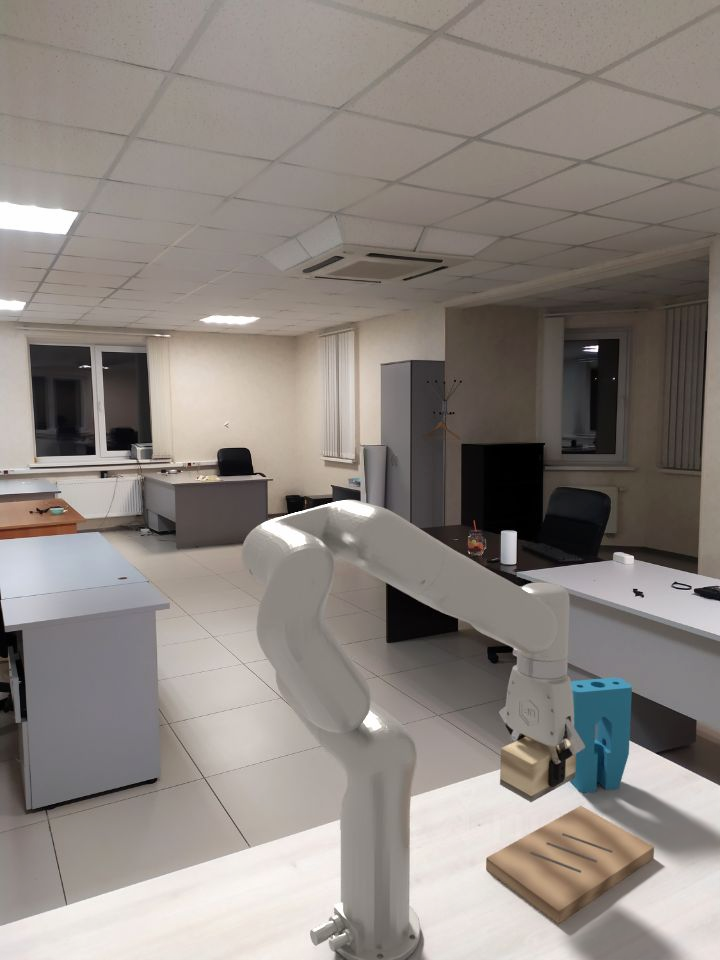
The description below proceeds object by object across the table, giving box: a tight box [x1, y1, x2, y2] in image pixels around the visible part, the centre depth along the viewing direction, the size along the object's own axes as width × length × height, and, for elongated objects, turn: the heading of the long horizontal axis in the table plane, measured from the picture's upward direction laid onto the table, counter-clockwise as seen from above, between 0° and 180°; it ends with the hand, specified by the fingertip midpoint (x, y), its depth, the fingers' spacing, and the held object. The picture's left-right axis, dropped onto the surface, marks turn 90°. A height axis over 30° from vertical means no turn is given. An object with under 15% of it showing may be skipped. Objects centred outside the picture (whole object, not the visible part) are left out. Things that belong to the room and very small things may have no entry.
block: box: [569, 676, 633, 793], centre depth 131 cm, size 12×5×20 cm, turn 101°
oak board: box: [485, 805, 655, 925], centre depth 109 cm, size 24×14×2 cm, turn 126°
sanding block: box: [499, 736, 576, 803], centre depth 107 cm, size 11×6×6 cm, turn 128°
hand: (538, 773), depth 107 cm, fingers closed on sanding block, 6 cm apart
